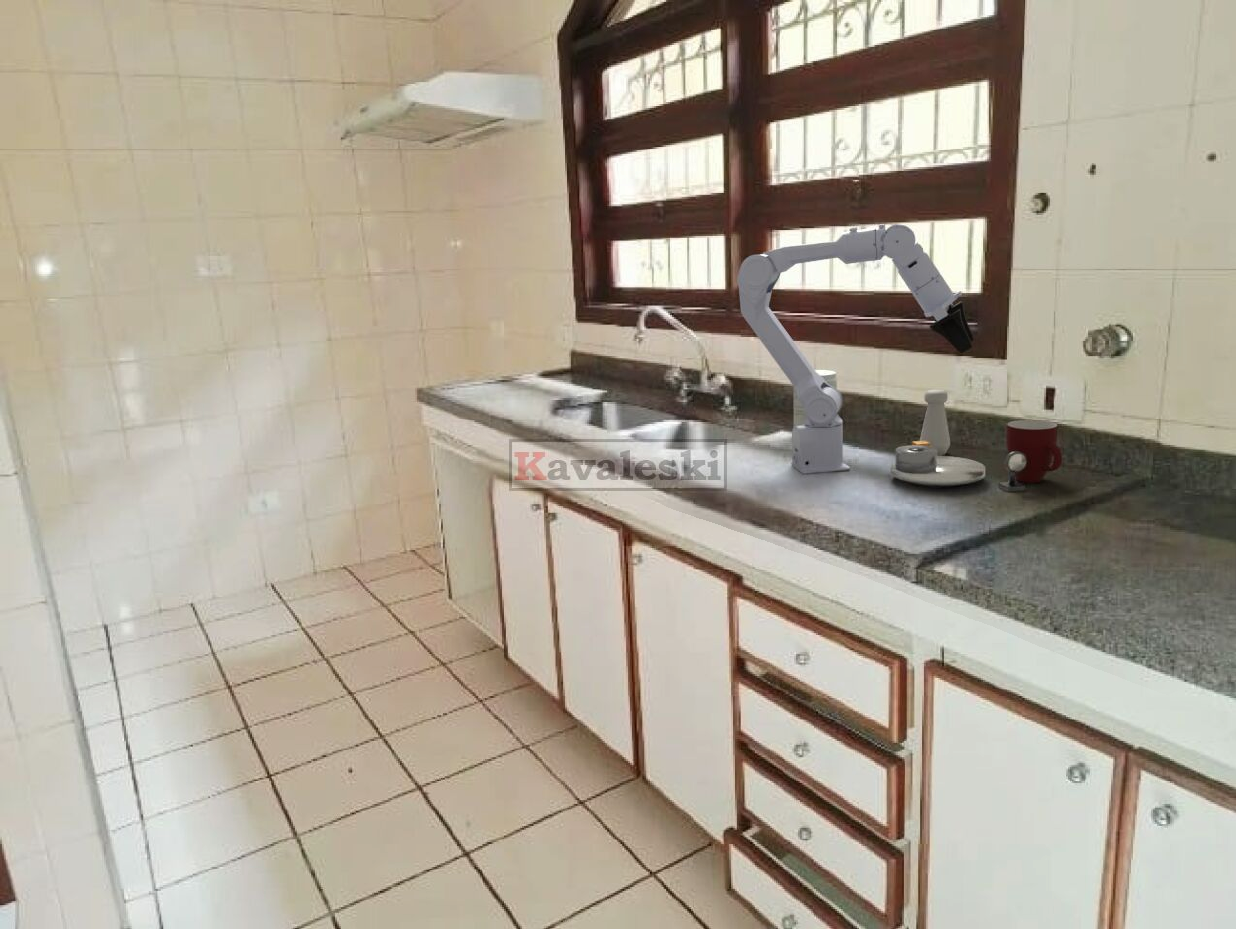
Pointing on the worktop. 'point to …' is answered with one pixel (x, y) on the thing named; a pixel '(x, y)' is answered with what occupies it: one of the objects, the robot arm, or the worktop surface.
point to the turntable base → (937, 485)
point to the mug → (1034, 447)
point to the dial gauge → (1014, 471)
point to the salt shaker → (936, 421)
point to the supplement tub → (798, 407)
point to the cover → (916, 459)
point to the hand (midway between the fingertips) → (967, 346)
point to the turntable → (945, 471)
